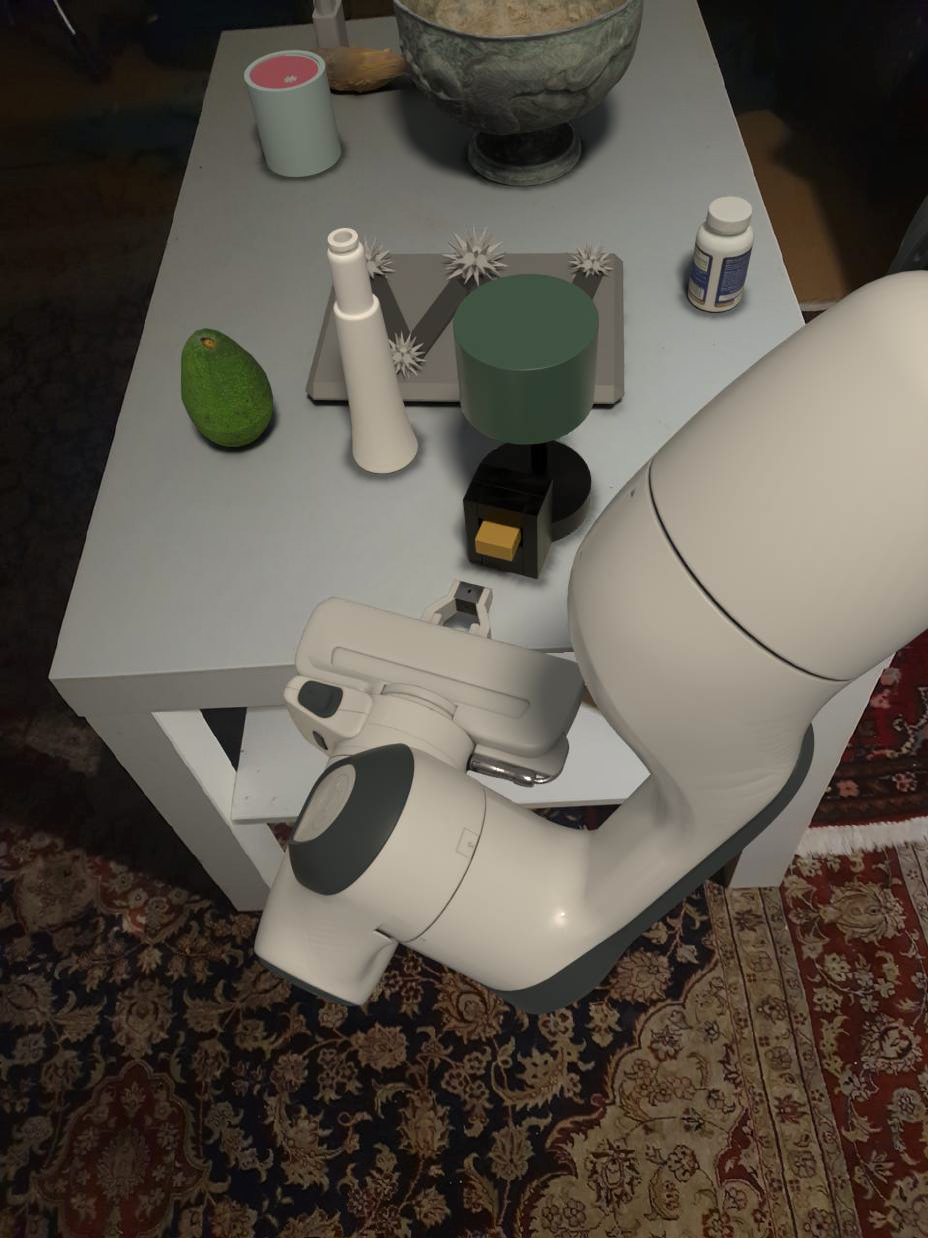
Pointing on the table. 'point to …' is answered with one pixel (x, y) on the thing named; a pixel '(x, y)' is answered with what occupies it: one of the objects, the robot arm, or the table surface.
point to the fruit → (224, 389)
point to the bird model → (360, 67)
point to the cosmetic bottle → (367, 362)
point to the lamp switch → (498, 540)
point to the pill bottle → (721, 255)
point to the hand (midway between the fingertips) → (474, 588)
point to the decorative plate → (429, 296)
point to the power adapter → (330, 24)
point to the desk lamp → (527, 409)
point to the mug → (293, 112)
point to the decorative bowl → (518, 73)
